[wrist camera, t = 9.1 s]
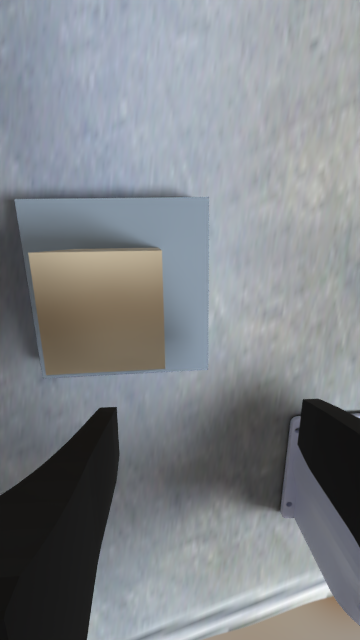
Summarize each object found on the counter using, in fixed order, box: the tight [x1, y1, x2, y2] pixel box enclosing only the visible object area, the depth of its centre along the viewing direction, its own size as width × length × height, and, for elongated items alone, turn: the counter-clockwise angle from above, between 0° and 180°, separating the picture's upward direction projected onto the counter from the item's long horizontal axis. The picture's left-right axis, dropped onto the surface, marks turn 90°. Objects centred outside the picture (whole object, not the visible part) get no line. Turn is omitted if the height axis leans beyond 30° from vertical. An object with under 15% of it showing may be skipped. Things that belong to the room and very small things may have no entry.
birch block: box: [28, 248, 165, 375], centre depth 13 cm, size 4×4×6 cm
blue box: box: [14, 197, 209, 378], centre depth 18 cm, size 10×10×3 cm
